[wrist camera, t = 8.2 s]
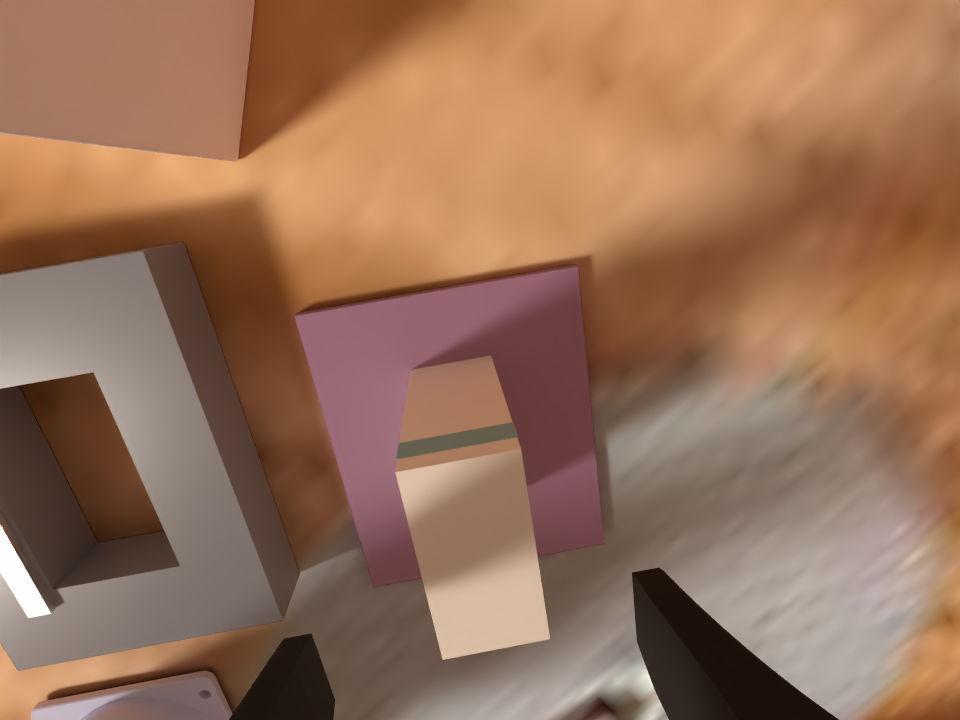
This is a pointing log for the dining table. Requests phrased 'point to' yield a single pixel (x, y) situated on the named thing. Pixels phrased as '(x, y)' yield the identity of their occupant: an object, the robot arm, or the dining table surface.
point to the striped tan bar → (469, 510)
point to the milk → (127, 73)
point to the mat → (445, 339)
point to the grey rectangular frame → (156, 454)
